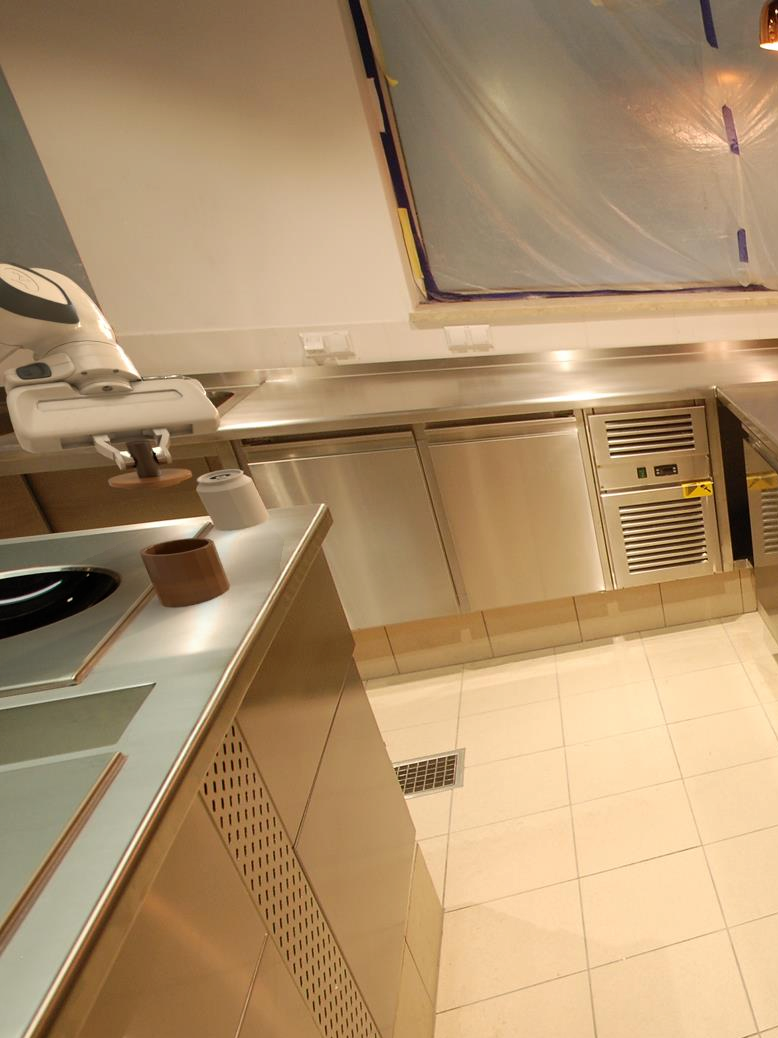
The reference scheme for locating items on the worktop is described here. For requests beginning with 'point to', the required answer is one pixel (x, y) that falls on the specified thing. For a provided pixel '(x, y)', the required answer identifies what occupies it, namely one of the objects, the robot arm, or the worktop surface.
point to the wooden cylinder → (185, 571)
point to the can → (231, 500)
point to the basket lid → (147, 470)
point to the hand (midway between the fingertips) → (146, 464)
